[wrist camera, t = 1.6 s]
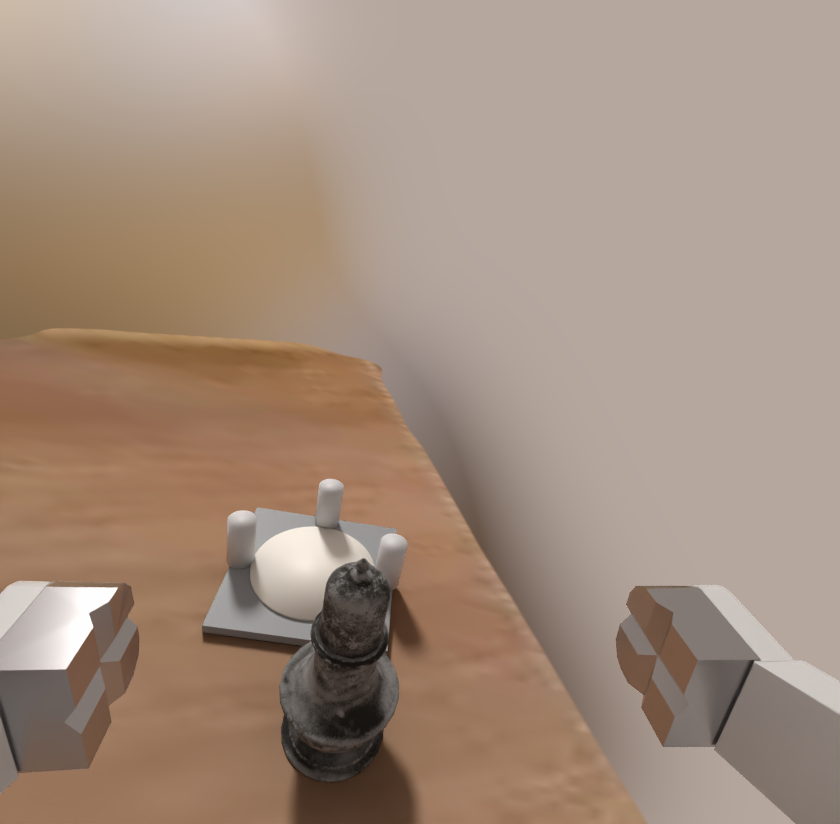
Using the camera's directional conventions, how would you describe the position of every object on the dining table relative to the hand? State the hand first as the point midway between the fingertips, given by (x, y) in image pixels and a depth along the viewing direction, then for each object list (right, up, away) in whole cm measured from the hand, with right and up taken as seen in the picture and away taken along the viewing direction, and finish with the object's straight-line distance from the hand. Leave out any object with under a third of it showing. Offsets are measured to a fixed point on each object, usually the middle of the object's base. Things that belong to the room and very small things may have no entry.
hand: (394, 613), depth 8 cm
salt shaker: (-4, -13, +19) cm, 23 cm away
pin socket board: (-7, -8, +27) cm, 29 cm away
